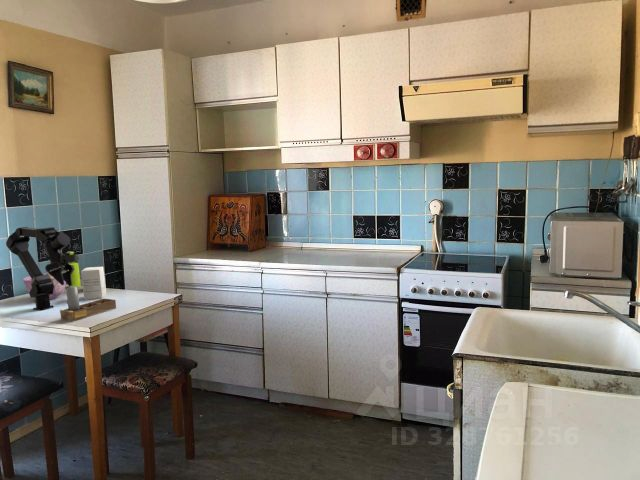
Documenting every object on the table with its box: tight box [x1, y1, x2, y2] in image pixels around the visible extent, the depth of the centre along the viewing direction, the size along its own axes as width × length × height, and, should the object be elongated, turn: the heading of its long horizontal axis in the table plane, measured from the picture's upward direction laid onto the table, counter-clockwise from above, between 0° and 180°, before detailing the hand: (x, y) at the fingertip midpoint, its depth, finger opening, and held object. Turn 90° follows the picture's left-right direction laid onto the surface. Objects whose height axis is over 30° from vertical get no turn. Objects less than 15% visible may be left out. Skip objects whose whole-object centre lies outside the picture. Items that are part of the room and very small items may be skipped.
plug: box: [65, 286, 80, 311], centre depth 223 cm, size 4×4×13 cm
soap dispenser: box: [66, 251, 82, 288], centre depth 291 cm, size 6×7×20 cm
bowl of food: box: [22, 272, 67, 301], centre depth 265 cm, size 20×20×12 cm
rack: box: [59, 298, 117, 322], centre depth 229 cm, size 8×22×4 cm, turn 151°
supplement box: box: [80, 266, 107, 301], centre depth 261 cm, size 9×9×15 cm
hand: (66, 285), depth 233 cm, fingers open, 9 cm apart
